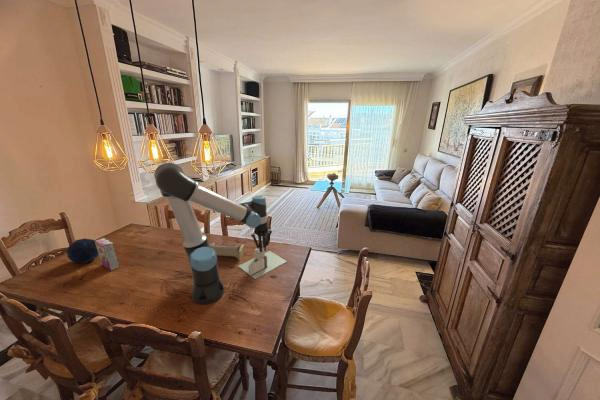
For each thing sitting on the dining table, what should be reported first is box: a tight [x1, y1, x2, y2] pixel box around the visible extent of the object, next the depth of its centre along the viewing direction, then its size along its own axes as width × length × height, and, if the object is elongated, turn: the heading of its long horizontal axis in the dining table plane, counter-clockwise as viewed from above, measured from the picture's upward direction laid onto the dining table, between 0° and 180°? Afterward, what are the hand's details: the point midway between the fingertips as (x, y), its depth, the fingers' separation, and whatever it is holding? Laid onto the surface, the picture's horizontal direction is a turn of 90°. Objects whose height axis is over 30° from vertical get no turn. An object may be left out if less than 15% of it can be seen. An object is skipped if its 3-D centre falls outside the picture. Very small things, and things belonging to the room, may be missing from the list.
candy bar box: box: [94, 237, 121, 272], centre depth 136 cm, size 11×5×16 cm, turn 59°
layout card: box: [237, 250, 288, 280], centre depth 143 cm, size 24×17×1 cm
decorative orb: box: [66, 238, 99, 264], centre depth 142 cm, size 14×15×15 cm
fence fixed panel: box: [249, 256, 267, 276], centre depth 135 cm, size 12×2×7 cm, turn 136°
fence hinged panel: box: [254, 248, 264, 261], centre depth 144 cm, size 11×1×7 cm, turn 37°
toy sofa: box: [209, 242, 245, 261], centre depth 150 cm, size 21×9×10 cm, turn 87°
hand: (263, 256), depth 147 cm, fingers closed
